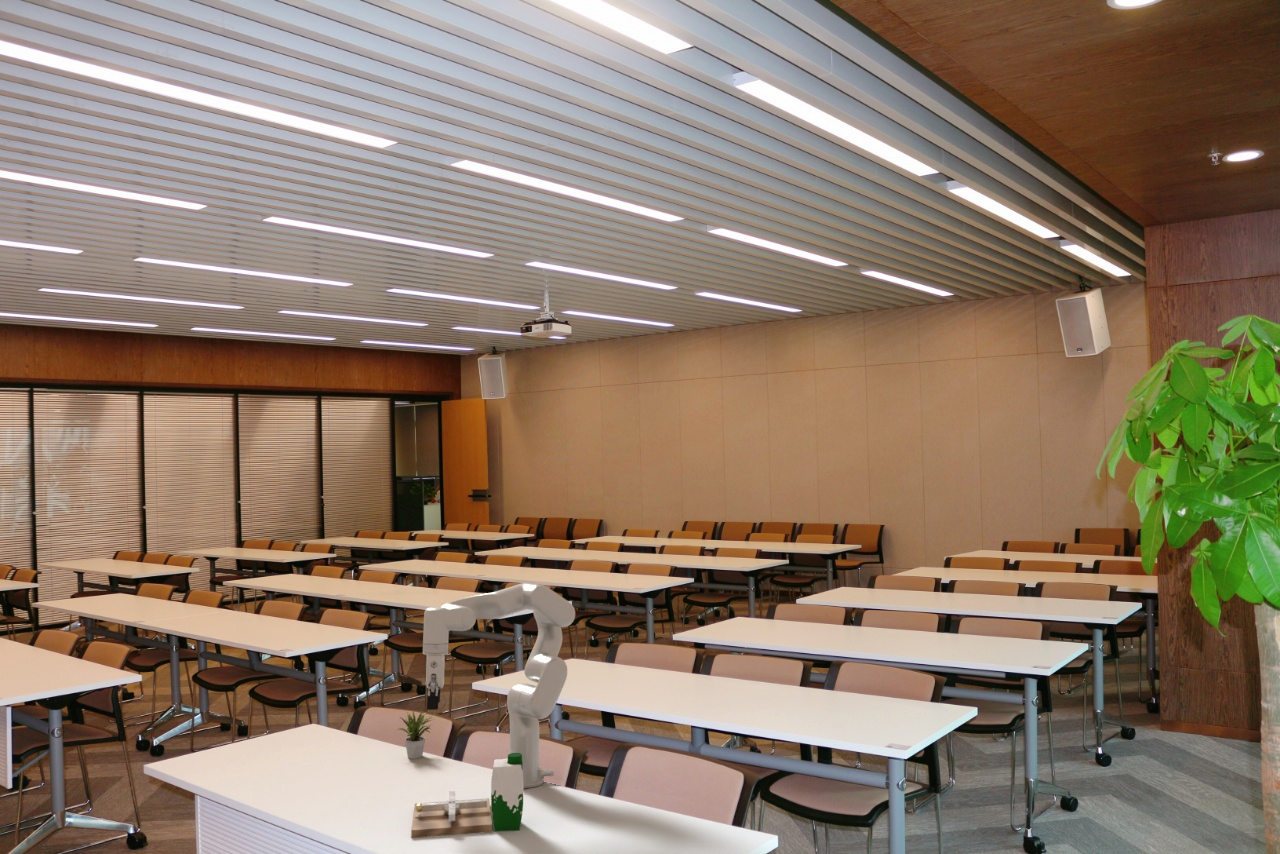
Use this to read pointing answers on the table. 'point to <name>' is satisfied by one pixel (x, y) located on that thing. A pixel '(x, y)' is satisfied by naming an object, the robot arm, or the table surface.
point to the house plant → (415, 735)
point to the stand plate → (451, 822)
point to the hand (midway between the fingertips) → (433, 705)
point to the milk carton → (507, 793)
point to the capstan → (451, 806)
